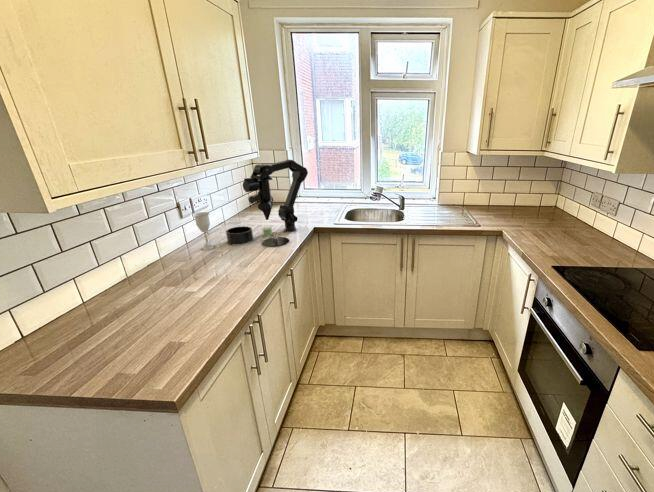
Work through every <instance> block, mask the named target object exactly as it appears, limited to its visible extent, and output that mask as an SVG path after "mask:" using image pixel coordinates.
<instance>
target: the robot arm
mask: <svg viewBox="0 0 654 492" xmlns="http://www.w3.org/2000/svg"><path fill="white" fill-rule="evenodd" d="M286 169H289V171H290V172H292V173H291V177H292V181H291V184H290V187H289V190H288V193H287V197H286V200H285V202H284V203H283V204H280V205H279V207H278V210H277V213H278V214H277V215H278V217H279V218H280V219H281V221H283V222H284V233H292V232H296V231H297V227H296V222H298V220H299V218H298V216H296V215H295V207H294V206H295V203H296V199H297V197H298V194H299V191H300V187H301V185H302V183H303V182H304V181H305V180H306V179H307V176H308V175H309V171H308V169H307V167H305V166H303V165H302V164H299V163H298V162H296V161H295V160H294V159H285V160H282V161H278V162H277V161H276V162H273V163H269V164H259V163H258V164H255V165H254V168H253V171H252V173H251V176H250V177H249V178H248V177H246V178H245V177H244V178H243V180H244V181H243V182H242V189H243V190H244V192H245V193H251V192H257V191H258V192H257V193H255V194H253V195H249V197H247V200H248V202H249V203H250V205H253V204H254V203H257V202H259V203H258V204H257V209H258V210H259V211H261V212H262V214H263V216H264V218H265V220H266V221H269V219H270V215H271V212H272V208H273V205H274V197H273V195H272V194H271V192H272V190H271V187H270V185H271V184H270V181H272V180H273V177H271V175H272V174H273V173H275V172H278V171H282V170H286Z"/></svg>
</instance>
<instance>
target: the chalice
mask: <svg viewBox="0 0 654 492" xmlns="http://www.w3.org/2000/svg"><path fill="white" fill-rule="evenodd" d="M192 216H193V217H194V220H195V225H196V227H197V228H198V230H200V232H201V233H203V237H204V241H205V243H204V244H203V247H202V250H203V251H209V250H213V249H214V248H215V246H213V244H212V243H211V242H209V238H208V234H207V232H208V231H209V228H210V225H211V221H210V212H209V211H199V212H196V213H193V214H192Z"/></svg>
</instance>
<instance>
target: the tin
mask: <svg viewBox="0 0 654 492" xmlns="http://www.w3.org/2000/svg"><path fill="white" fill-rule="evenodd" d="M225 234H226V239H227V244H228V245H230V246H233V245H245V244H248V243H251V242H253V241H254V234H253V228H252V227H250V226H245V225H243V226H242V225H241V226H234V227H230V228H228V229H226V230H225Z"/></svg>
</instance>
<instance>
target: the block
mask: <svg viewBox="0 0 654 492" xmlns="http://www.w3.org/2000/svg"><path fill="white" fill-rule="evenodd" d="M272 230H273V229H272V227H271V226H269V227H263V229H262V231H263V232H262V233H263V236H264V237H265V236H272V235H273V231H272Z"/></svg>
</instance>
